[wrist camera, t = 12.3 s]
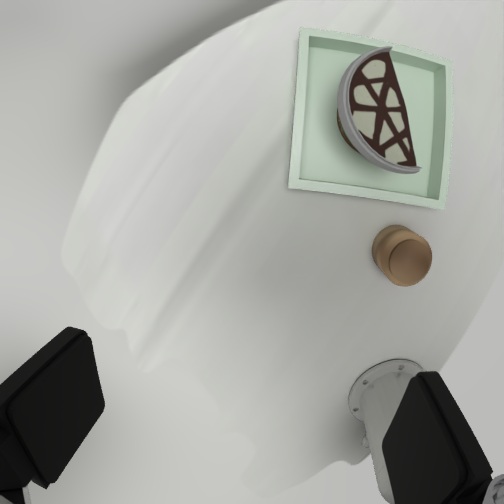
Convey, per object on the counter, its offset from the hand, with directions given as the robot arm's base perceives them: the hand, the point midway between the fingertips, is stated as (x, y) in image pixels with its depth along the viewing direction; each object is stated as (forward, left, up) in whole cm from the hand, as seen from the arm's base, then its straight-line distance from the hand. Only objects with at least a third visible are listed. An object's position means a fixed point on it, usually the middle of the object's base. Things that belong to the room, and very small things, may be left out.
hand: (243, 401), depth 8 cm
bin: (+13, -10, -30) cm, 34 cm away
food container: (+12, -8, -30) cm, 33 cm away
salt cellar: (-2, -15, -30) cm, 34 cm away
